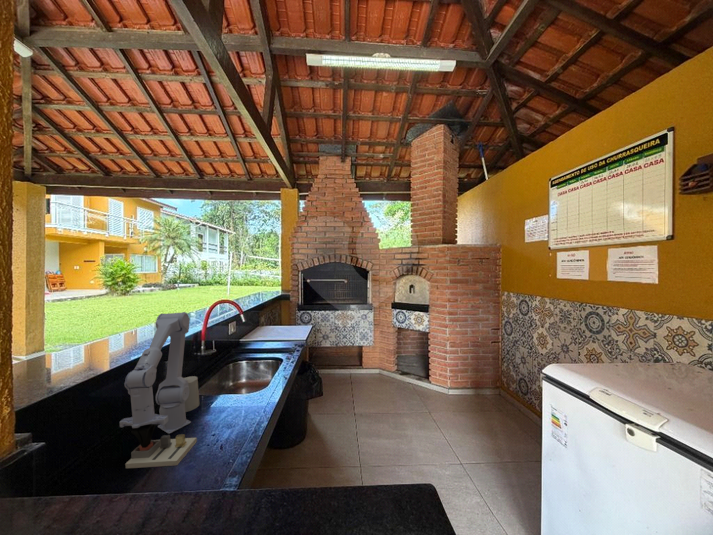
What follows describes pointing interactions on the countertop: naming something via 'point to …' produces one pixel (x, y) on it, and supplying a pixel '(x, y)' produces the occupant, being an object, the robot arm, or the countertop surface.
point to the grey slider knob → (165, 441)
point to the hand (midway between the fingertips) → (146, 445)
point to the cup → (192, 394)
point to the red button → (146, 447)
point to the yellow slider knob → (180, 440)
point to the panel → (160, 454)
